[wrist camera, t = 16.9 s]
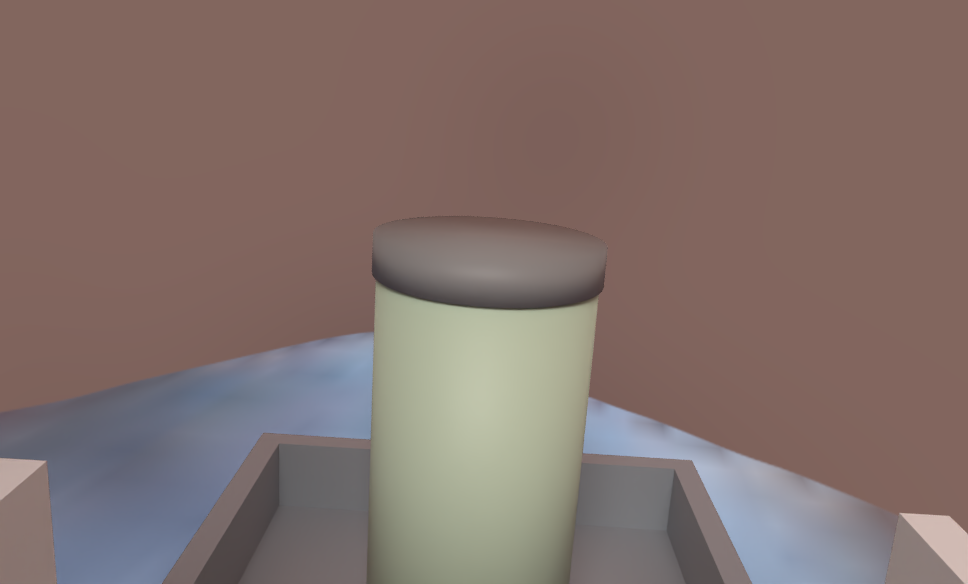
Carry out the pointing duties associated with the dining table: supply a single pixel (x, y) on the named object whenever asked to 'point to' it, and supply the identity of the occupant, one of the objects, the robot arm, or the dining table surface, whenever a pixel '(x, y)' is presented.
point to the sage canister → (479, 398)
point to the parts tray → (345, 509)
